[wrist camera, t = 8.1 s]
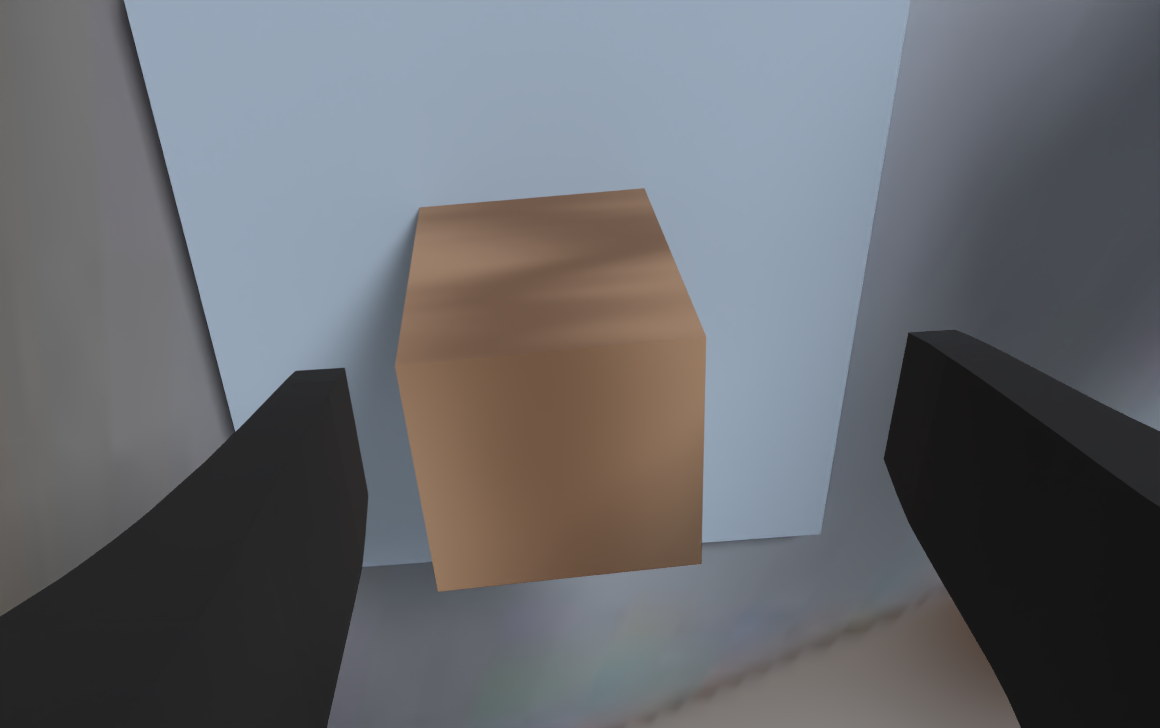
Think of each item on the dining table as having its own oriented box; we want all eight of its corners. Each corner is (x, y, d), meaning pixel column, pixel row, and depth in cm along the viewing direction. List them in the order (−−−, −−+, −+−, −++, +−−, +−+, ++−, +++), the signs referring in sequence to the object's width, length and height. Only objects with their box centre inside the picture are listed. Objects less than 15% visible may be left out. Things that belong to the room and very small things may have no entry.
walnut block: (644, 188, 18) (706, 336, 13) (647, 376, 21) (701, 563, 16) (419, 207, 18) (394, 366, 13) (449, 395, 21) (437, 591, 15)
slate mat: (902, -59, 17) (919, -53, 16) (810, 513, 24) (820, 534, 24) (131, -39, 16) (115, -32, 15) (277, 551, 23) (272, 573, 23)
